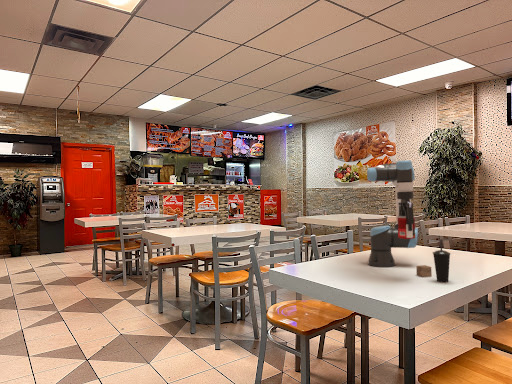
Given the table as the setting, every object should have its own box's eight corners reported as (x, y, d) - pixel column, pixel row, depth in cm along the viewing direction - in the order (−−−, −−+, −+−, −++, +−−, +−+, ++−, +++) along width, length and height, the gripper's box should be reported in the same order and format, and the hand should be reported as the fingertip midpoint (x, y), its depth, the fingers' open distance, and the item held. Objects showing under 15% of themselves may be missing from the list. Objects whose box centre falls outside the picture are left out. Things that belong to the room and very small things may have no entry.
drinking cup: (430, 280, 173) (428, 239, 174) (441, 278, 176) (440, 238, 176) (443, 283, 166) (441, 241, 166) (455, 282, 169) (453, 239, 169)
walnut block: (416, 275, 185) (416, 265, 185) (425, 274, 186) (424, 265, 186) (422, 277, 180) (422, 267, 180) (431, 276, 181) (431, 266, 181)
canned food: (417, 238, 174) (416, 216, 174) (399, 239, 175) (398, 216, 176) (413, 237, 181) (412, 215, 181) (396, 237, 183) (396, 215, 183)
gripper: (391, 191, 189) (392, 234, 189) (404, 191, 169) (406, 239, 168) (405, 191, 189) (407, 234, 188) (420, 190, 168) (422, 238, 168)
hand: (406, 236), depth 178 cm, fingers closed on canned food, 8 cm apart
